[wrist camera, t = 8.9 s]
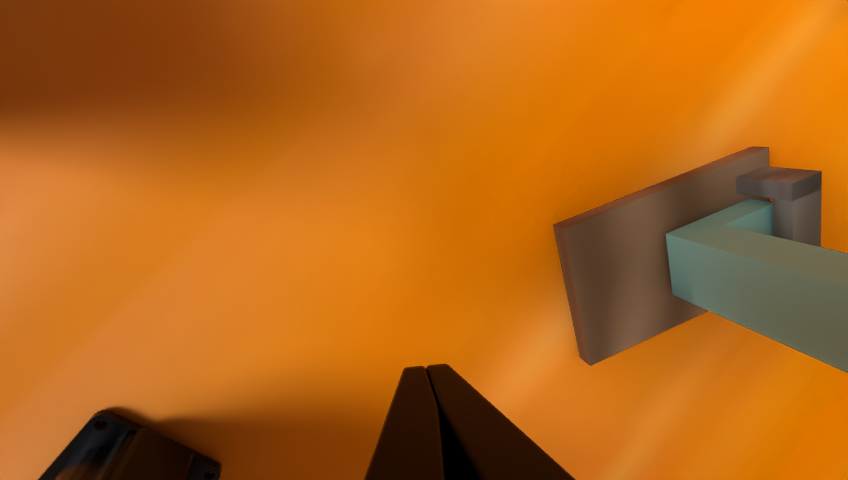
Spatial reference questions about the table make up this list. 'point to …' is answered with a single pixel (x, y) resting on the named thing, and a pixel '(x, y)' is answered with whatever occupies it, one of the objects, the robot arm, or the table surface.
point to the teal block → (764, 280)
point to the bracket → (647, 247)
